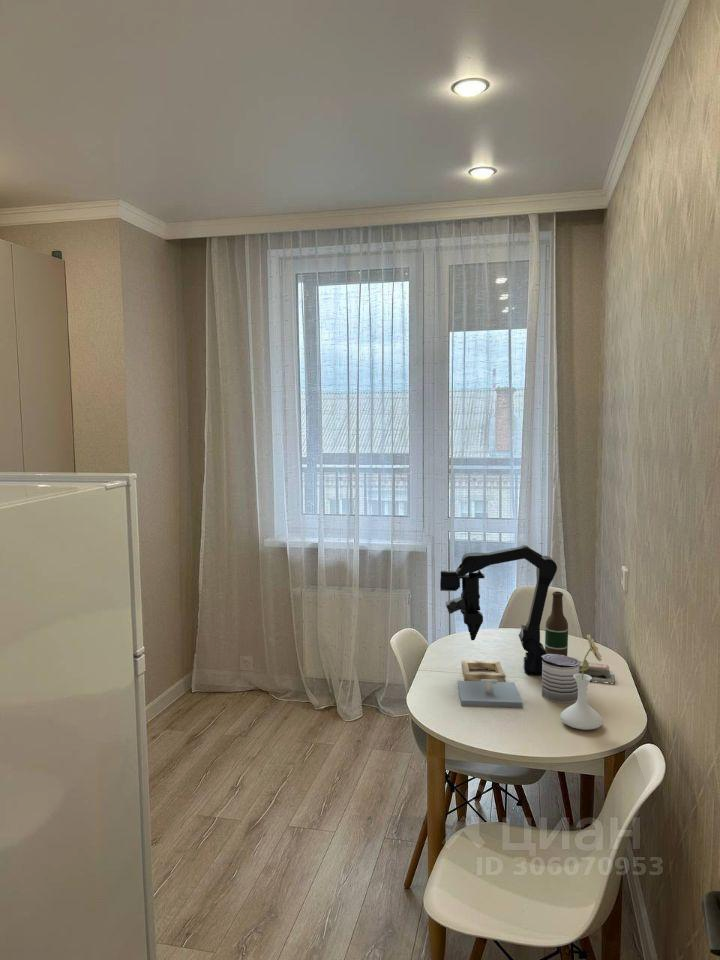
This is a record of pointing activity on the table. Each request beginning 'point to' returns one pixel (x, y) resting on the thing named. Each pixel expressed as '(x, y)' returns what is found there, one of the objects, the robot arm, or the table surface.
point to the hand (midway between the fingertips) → (471, 636)
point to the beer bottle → (556, 628)
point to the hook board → (489, 693)
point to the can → (559, 678)
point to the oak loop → (482, 665)
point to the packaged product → (598, 672)
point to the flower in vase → (583, 699)
